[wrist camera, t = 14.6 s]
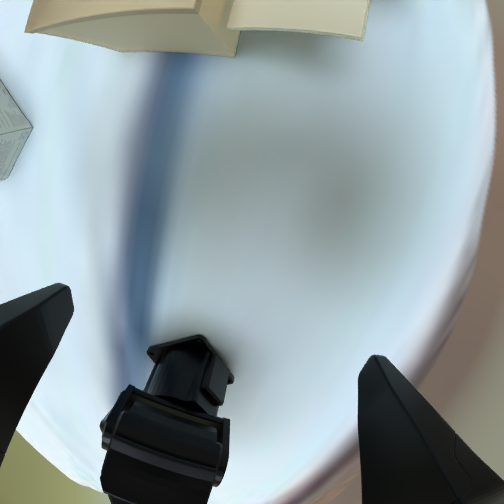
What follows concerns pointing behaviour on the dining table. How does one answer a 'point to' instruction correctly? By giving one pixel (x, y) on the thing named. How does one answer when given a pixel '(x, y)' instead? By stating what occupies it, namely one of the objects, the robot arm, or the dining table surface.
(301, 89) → the dining table surface
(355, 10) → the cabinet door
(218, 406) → the robot arm
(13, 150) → the light bulb box
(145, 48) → the kraft carton
